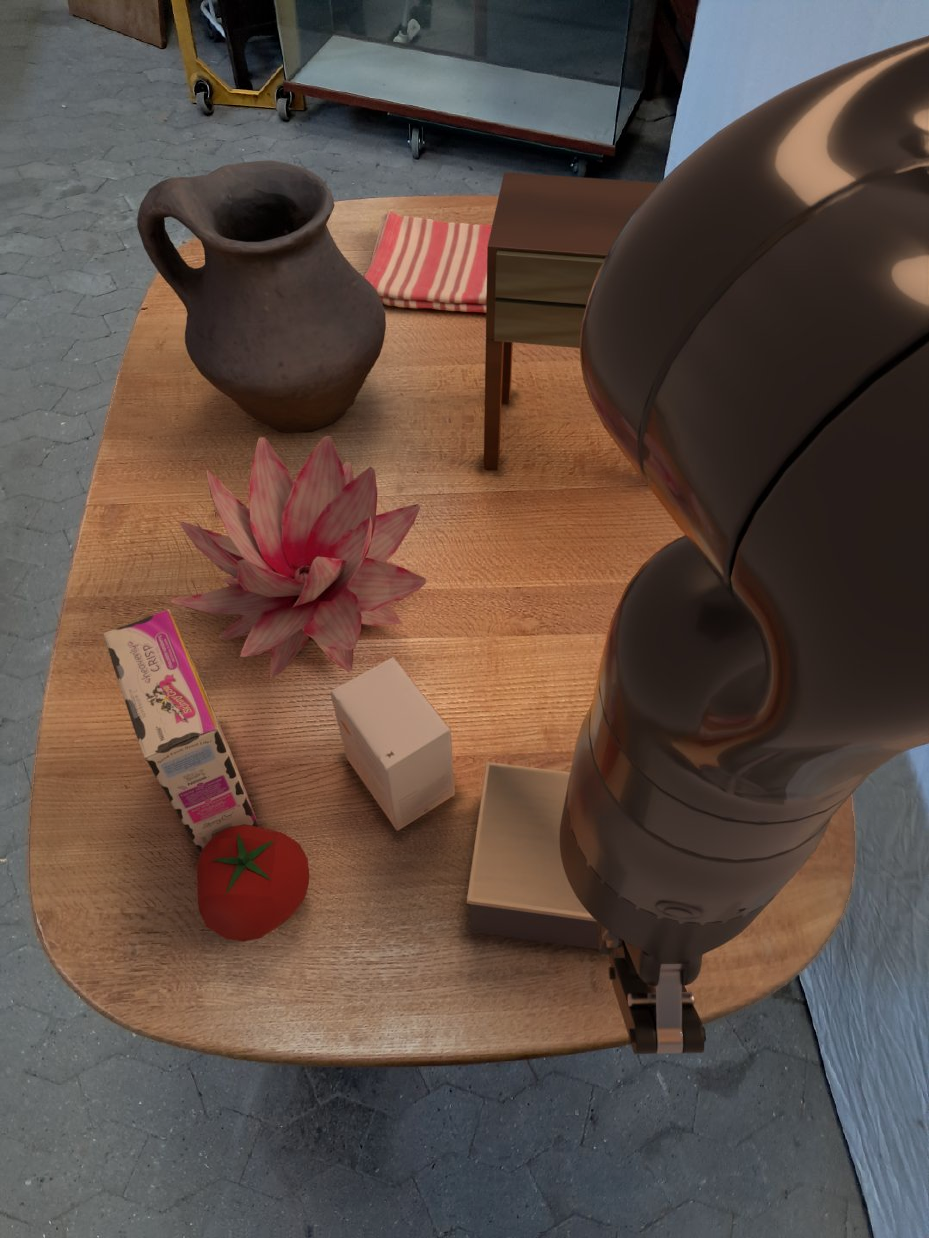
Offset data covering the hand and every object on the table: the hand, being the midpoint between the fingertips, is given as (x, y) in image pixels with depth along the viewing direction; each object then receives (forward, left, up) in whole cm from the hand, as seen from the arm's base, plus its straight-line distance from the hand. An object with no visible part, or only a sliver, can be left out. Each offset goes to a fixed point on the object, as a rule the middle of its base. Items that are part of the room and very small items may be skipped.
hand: (620, 937), depth 43 cm
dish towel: (-29, -85, -23) cm, 93 cm away
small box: (+4, -23, -23) cm, 33 cm away
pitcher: (-2, -70, -23) cm, 74 cm away
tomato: (+17, -18, -23) cm, 34 cm away
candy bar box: (+18, -28, -23) cm, 40 cm away
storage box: (-3, -11, -23) cm, 25 cm away
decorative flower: (+5, -42, -23) cm, 48 cm away
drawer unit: (-29, -52, -23) cm, 64 cm away
